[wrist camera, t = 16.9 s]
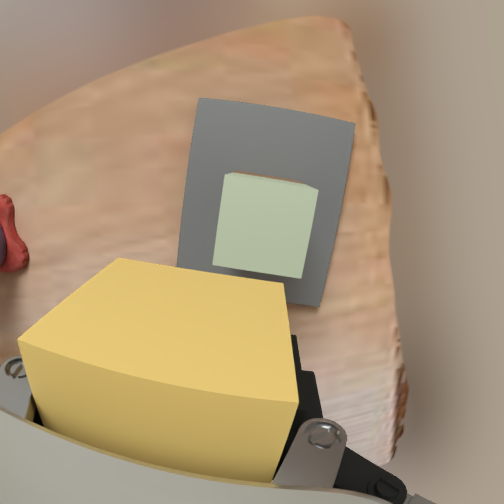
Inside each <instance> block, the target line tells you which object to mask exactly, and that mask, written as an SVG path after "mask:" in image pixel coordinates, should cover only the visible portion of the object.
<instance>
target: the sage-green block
mask: <svg viewBox="0 0 504 504" xmlns="http://www.w3.org/2000/svg"><path fill="white" fill-rule="evenodd" d="M318 191H319V190H317V189H315V188H313V187H310V186H308V185H306V184H300V183H295V182H289V181H283V180H277V179H271V178H265V177H259V176H253V175H246V174H239V173H229V174H225V177H224V184H223V190H222V197H221V204H220V211H219V219H218V226H217V233H216V241H215V248H214V256H213V264H212V265H216V266H222V267H228V268H235V269H241V270H247V271H254V272H260V273H267V274H273V275H280V276H286V277H293V278H300V279H301V277H302V272H303V268H304V263H305V258H306V253H307V248H308V243H309V238H310V233H311V228H312V223H313V218H314V212H315V207H316V202H317V196H318Z"/></svg>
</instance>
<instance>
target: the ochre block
mask: <svg viewBox="0 0 504 504" xmlns="http://www.w3.org/2000/svg"><path fill="white" fill-rule="evenodd" d="M17 340H18V344H19V348H20V353H21V356H22V360H23V364H24V368H25V371H26V375H27V378H28V381H29V385H30V388H31V391H32V394H33V397H34V400H35V403H36V406H37V409H38V412H39V414H40V417H41V420H42V422H43V425H44V427H45V428H47V429H49V430H52V431H54V432H56V433H59V434H61V435H64V436H66V437H69V438H72V439H74V440H77V441H79V442H82V443H85V444H88V445H90V446H93V447H96V448H99V449H102V450H105V451H108V452H111V453H115V454H118V455H121V456H125V457H128V458H131V459H135V460H139V461H142V462H146V463H150V464H154V465H158V466H163V467H167V468H171V469H176V470H181V471H186V472H191V473H196V474H202V475H207V476H214V477H220V478H227V479H235V480H243V481H252V482H261V483H271V481H272V479H273V476H274V473H275V471H276V468H277V465H278V463H279V460H280V457H281V454H282V451H283V449H284V446H285V443H286V440H287V437H288V434H289V431H290V428H291V425H292V422H293V419H294V416H295V413H296V410H297V407H298V404H299V398H298V390H297V382H296V374H295V366H294V358H293V350H292V343H291V335H290V328H289V320H288V313H287V306H286V299H285V292H284V285H283V283H278V282H271V281H264V280H257V279H250V278H244V277H237V276H230V275H223V274H217V273H210V272H204V271H197V270H191V269H185V268H178V267H172V266H166V265H160V264H154V263H148V262H142V261H136V260H130V259H124V258H117V259H116V260H115V261H113V262H112V263H111V264H109V265H108V266H107V267H105V268H104V269H103V270H101V271H100V272H99V273H98V274H96V275H95V276H94V277H92V278H91V279H90V280H88V281H87V282H86V283H85V284H83V285H82V286H81V287H80V288H78V289H77V290H76V291H74V292H73V293H72V294H71V295H69V296H68V297H67V298H66V299H64V300H63V301H62V302H61V303H60V304H58V305H57V306H56V307H55V308H53V309H52V310H51V311H50V312H49V313H47V314H46V315H45V316H44V317H43V318H41V319H40V320H39V321H38V322H37V323H35V324H34V325H33V326H32V327H31V328H29V329H28V330H27V331H26V332H25V333H24V334H23V335H21V336H20V337H19V338H18V339H17Z"/></svg>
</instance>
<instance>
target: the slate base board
mask: <svg viewBox="0 0 504 504" xmlns="http://www.w3.org/2000/svg"><path fill="white" fill-rule="evenodd" d="M354 130H355V123H351V122H347V121H343V120H338V119H334V118H329V117H325V116H320V115H315V114H310V113H305V112H300V111H295V110H289V109H283V108H278V107H271V106H265V105H258V104H251V103H244V102H236V101H228V100H219V99H209V98H199V99H198V105H197V111H196V117H195V123H194V129H193V135H192V142H191V149H190V155H189V162H188V170H187V177H186V185H185V193H184V201H183V209H182V218H181V227H180V237H179V247H178V258H177V267H178V268H185V269H191V270H197V271H204V272H210V273H217V274H223V275H230V276H237V277H244V278H250V279H257V280H264V281H271V282H278V283H283V285H284V292H285V299H286V303H294V304H301V305H308V306H316V307H319V306H320V302H321V298H322V294H323V290H324V286H325V281H326V277H327V273H328V268H329V264H330V260H331V255H332V251H333V246H334V241H335V236H336V232H337V227H338V222H339V217H340V212H341V207H342V201H343V196H344V191H345V185H346V179H347V174H348V168H349V162H350V156H351V150H352V143H353V137H354ZM234 171H242V172H249V173H256V174H262V175H268V176H274V177H280V178H286V179H292V180H297V181H300V182H302V183H305V184H306V185H308V186H310V187H313V188H315V189H317V190H319V191H318V196H317V202H316V207H315V212H314V218H313V223H312V228H311V233H310V238H309V243H308V248H307V253H306V258H305V263H304V268H303V272H302V277H301V279H300V278H293V277H286V276H280V275H273V274H267V273H260V272H254V271H247V270H241V269H235V268H228V267H222V266H216V265H212V264H213V256H214V248H215V241H216V233H217V226H218V219H219V211H220V204H221V197H222V190H223V184H224V177H225V174H229V173H232V172H234Z"/></svg>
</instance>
